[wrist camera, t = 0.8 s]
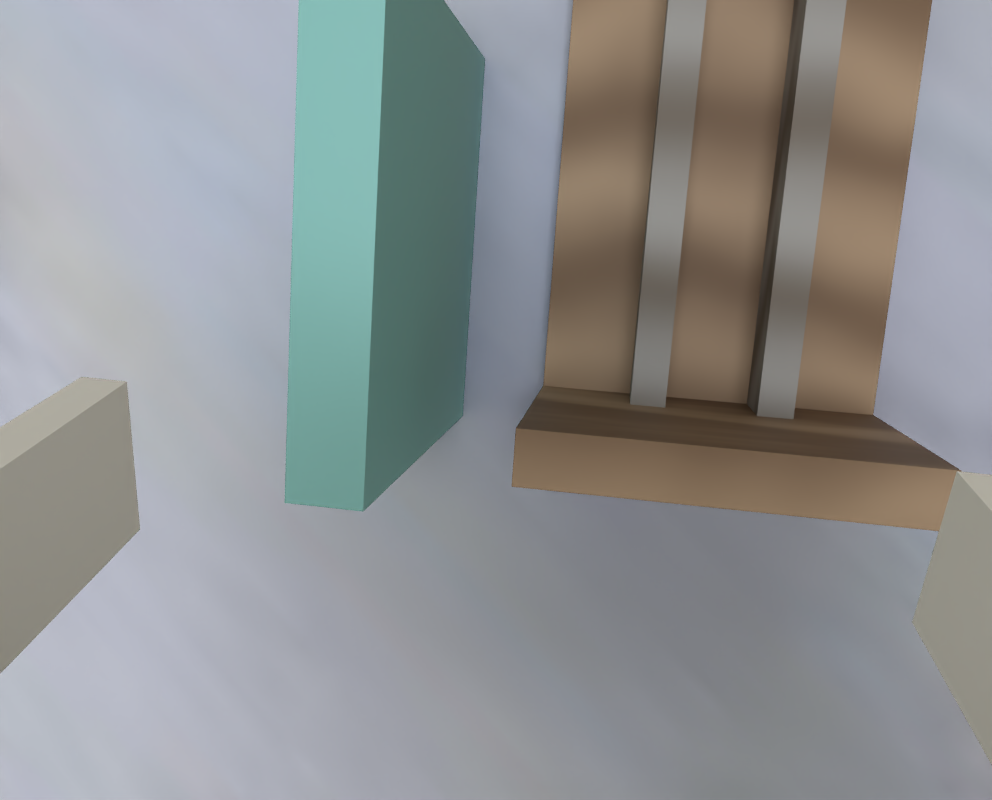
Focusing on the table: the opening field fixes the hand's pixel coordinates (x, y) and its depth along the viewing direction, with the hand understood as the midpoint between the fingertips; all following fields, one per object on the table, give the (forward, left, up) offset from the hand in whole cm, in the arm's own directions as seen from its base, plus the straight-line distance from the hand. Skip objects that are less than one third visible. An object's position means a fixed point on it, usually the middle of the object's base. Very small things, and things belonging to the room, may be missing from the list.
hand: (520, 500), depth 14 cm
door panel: (+4, +7, -26) cm, 28 cm away
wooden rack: (+9, -5, -26) cm, 28 cm away
